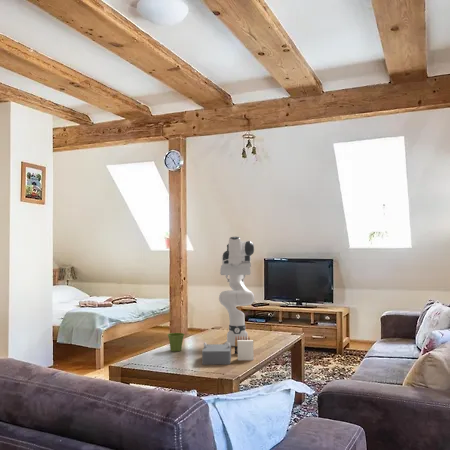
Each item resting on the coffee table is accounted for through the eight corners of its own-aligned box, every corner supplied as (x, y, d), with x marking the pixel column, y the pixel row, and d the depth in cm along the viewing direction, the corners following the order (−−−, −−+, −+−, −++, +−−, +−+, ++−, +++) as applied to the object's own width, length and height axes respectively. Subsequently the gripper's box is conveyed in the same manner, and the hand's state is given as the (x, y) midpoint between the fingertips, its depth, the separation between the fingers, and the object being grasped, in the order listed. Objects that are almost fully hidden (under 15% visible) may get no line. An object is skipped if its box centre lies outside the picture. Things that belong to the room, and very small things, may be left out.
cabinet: (205, 356, 331) (204, 339, 331) (231, 356, 330) (230, 339, 330) (202, 364, 310) (202, 346, 310) (230, 364, 309) (229, 346, 310)
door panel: (237, 359, 323) (237, 340, 324) (253, 359, 323) (253, 340, 323) (237, 360, 320) (237, 341, 321) (253, 360, 320) (253, 341, 320)
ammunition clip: (234, 353, 338) (234, 335, 339) (235, 353, 340) (235, 335, 340) (250, 354, 335) (249, 336, 335) (250, 354, 337) (250, 335, 337)
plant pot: (182, 352, 344) (181, 336, 344) (165, 352, 346) (165, 335, 346) (186, 349, 355) (186, 332, 355) (170, 348, 357) (170, 332, 358)
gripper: (250, 260, 341) (251, 281, 341) (220, 261, 342) (220, 281, 342) (250, 261, 335) (251, 282, 335) (219, 261, 336) (220, 282, 336)
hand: (235, 281), depth 338 cm, fingers open, 8 cm apart
